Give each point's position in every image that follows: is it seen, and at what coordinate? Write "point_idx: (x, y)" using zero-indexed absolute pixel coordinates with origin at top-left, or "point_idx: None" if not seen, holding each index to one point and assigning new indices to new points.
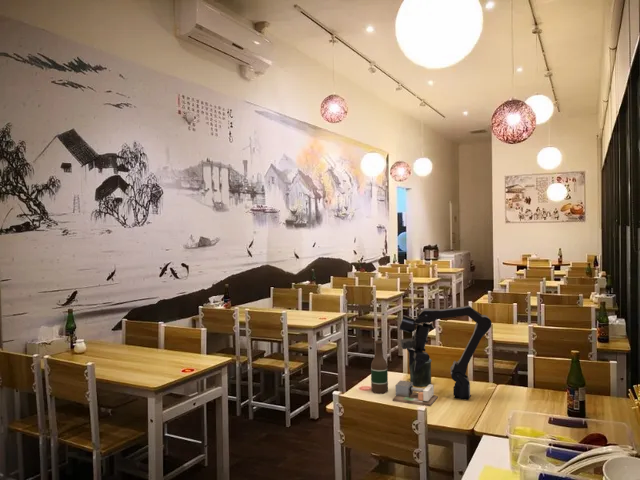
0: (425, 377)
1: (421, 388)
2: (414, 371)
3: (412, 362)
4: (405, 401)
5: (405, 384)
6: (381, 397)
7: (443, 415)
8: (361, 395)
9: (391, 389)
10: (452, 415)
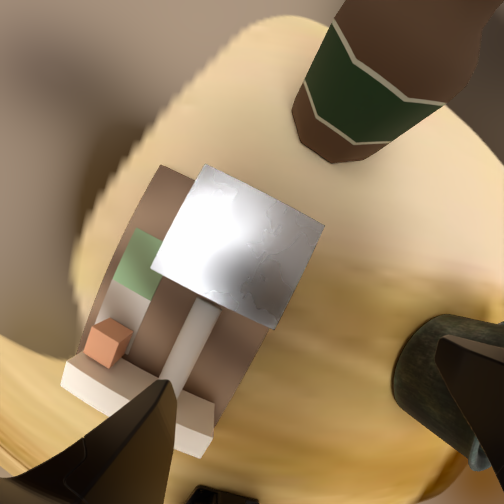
0: (417, 408)
1: (174, 372)
2: (159, 379)
3: (450, 387)
4: (122, 238)
5: (210, 252)
6: (229, 115)
7: (3, 373)
8: (267, 42)
9: (368, 194)
10: (11, 404)
